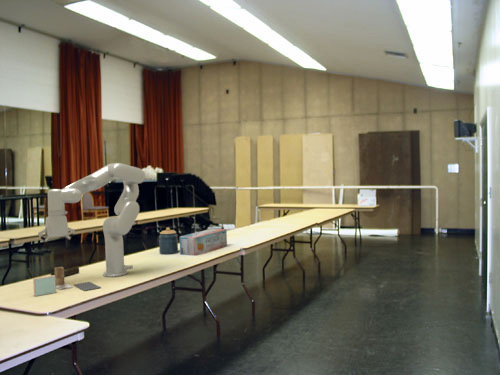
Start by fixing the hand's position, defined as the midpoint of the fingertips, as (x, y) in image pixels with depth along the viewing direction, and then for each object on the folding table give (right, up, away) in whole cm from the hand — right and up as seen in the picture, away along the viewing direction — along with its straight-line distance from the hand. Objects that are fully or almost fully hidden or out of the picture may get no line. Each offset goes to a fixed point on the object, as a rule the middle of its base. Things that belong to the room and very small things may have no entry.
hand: (57, 248), depth 219 cm
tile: (+1, -19, -15) cm, 24 cm away
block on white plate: (+3, -19, -2) cm, 19 cm away
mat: (+16, -18, -3) cm, 25 cm away
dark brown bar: (-5, -19, +21) cm, 28 cm away
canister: (+40, -15, +86) cm, 96 cm away
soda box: (+64, -15, +93) cm, 113 cm away
